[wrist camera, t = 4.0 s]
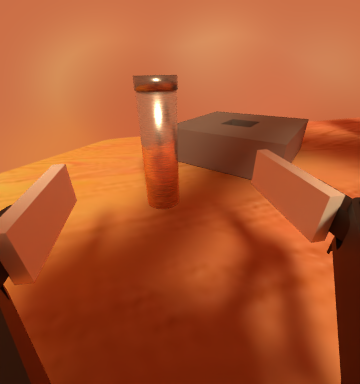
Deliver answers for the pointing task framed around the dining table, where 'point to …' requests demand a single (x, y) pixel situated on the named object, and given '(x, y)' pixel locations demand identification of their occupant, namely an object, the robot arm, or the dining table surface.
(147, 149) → the steel pin
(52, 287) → the dining table surface
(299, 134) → the block
